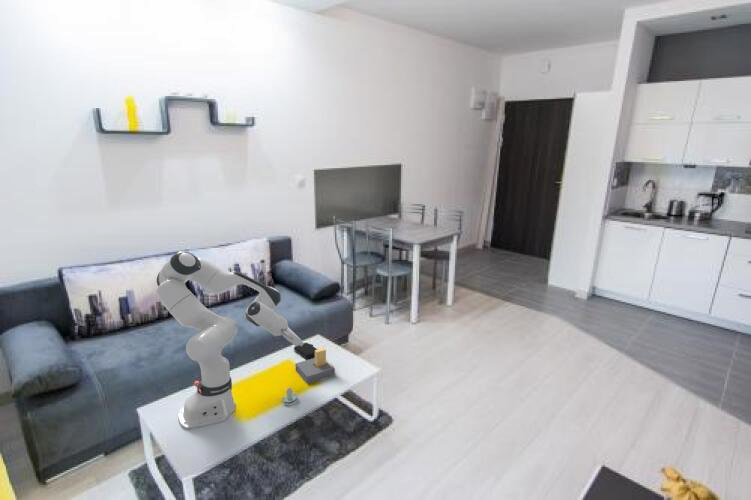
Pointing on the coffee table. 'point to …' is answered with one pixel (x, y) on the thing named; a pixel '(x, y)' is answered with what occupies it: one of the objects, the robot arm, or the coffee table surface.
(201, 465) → the coffee table surface
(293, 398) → the pacifier
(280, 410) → the coffee table surface
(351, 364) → the coffee table surface
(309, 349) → the carrying case or bag
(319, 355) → the tall tan cardboard box
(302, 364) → the grey slotted base
